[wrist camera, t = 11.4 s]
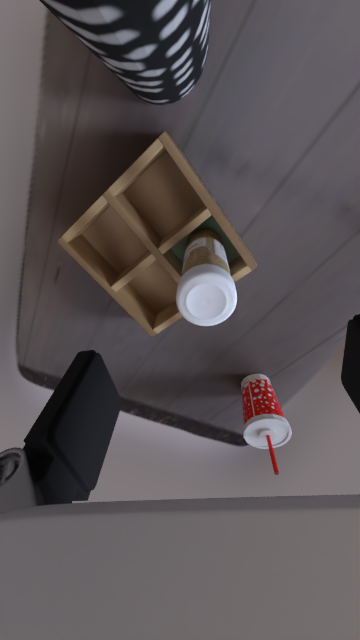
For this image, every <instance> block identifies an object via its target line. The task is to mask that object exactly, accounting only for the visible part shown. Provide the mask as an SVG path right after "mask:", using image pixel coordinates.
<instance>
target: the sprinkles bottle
mask: <svg viewBox="0 0 360 640" xmlns="http://www.w3.org/2000/svg"><path fill="white" fill-rule="evenodd" d="M176 303H177V307H178V310H179V312H180V313H181V315H182V316H183V317H184V318H185V319H187V320H188V321H189V322H191V323H193V324H196V325H200V326H212V325H216V324H219V323H221V322H223V321H224V320H226V319H227V318H228V317H229V316H230V315H231V314H232V312H233V311H234V309H235V307H236V303H237V293H236V288H235V284H234V281H233V279H232V277H231V276H230V270H229V266H228V262H227V258H226V254H225V250H224V244H223V241H222V239H221V238H220V236H219V235H217V234H216V233H215V232H213V231H210V230H200V231H197V232H195V233H194V234H192V235H191V236H190V237H189V239H188V241H187V242H186V246H185V255H184V262H183V268H182V277H181V279H180V281H179V283H178V287H177V293H176Z"/></svg>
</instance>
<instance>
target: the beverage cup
mask: <svg viewBox="0 0 360 640" xmlns="http://www.w3.org/2000/svg"><path fill="white" fill-rule="evenodd" d="M241 393H242V404H243V416H244V426H243V433H244V434H243V436H244V439H245V440H246V442H247V443H248V444H250V445H251V446H253V447H257V448H260V449H269V451H270V456H271V460H272V464H273V469H274V473H275V474H276V475H277V474H279V471H278V468H277V463H276V459H275V456H274V451H273V448H276V447H279V446H281V445H283V444H285V443H286V442H287V441H288V440H289V439H290V438H291V435H292V430H291V428H290V425H289V423H288V421H287V420H286V419H285V418H284V415H283V412H282V410H281V407H280V405H279V402H278V400H277V397H276V395H275V392H274V390H273V387H272V385H271V382H270V380H269V378H267V377H266V376H265V375H262V374H252V375H248V376H247V377H245V378H244V379H243V380H242V382H241Z"/></svg>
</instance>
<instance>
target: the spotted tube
mask: <svg viewBox="0 0 360 640" xmlns="http://www.w3.org/2000/svg"><path fill="white" fill-rule="evenodd" d="M40 1H41V2H42V3H43V4H44V5H45V6H46V7H47V8H48V9H49V10H50V11H51V12H52V13H53V14H54V15H55V16H56V17H57V18H58V19H59V20H60V21H61V22H62V23H63V24H64V25H65V26H66V27H67V28H68V29H69V30H70V31H71V32H72V33H73V34H74V35H75V36H76V37H77V38H78V39H79V40H80V41H81V42H82V43H83V44H84V45H85V46H86V47H87V48H88V49H90V50H91V51H92V52H93V53H94V54H95V55H96V56H97V57H98V58H99V59H100V60H101V61H102V62H103V63H104V64H105V65H106V66H107V67H108V68H109V69H110V70H111V71H112V72H113V73H114V74H115V75H116V76H117V77H118V78H119V79H120V80H121V81H122V82H123V83H124V84H125V85H126V86H127V87H128V88H129V89H130V90H131V91H132V92H133V93H135V94H136V95H137V96H138V97H139V98H141V99H143V100H145V101H146V102H149V103H152V104H159V105H165V104H170V103H173V102H176V101H178V100H180V99H181V98H183V97H184V96H185V95H186V94H188V93H189V92H190V90H191V89H192V88H193V87H194V86H195V84H196V83H197V81H198V79H199V77H200V76H201V73H202V70H203V68H204V65H205V61H206V57H207V52H208V39H209V23H210V6H211V0H40Z"/></svg>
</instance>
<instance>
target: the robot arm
mask: <svg viewBox="0 0 360 640" xmlns="http://www.w3.org/2000/svg"><path fill="white" fill-rule="evenodd" d="M341 381H342V384H343V386H344V388H345V390H346V391H347V393H348V395H349V396H350V398H351V400H352V401H353V403H354V405H355V406H356V408H357V410H358V411H359V413H360V314H359V315H355V316H354V317H353V320H349V322H348V326H347V334H346V342H345V350H344V357H343V365H342V373H341ZM120 408H121V398H120V396H119V394H118V391H117V389H116V387H115V385H114V383H113V381H112V379H111V376H110V374H109V372H108V370H107V368H106V366H105V364H104V361H103V359H102V357H101V355H100V354H99V353H96V352H95V351H94V350H89V351H81V352H79V353H78V354H77V355H76V357H75V358H74V360H73V362H72V363H71V365H70V367H69V368H68V370H67V371H66V373H65V375H64V376H63V378H62V380H61V381H60V383H59V384H58V386H57V388H56V389H55V391H54V392H53V394H52V396H51V397H50V399H49V401H48V402H47V404H46V406H45V407H44V409H43V410H42V412H41V414H40V415H39V417H38V419H37V420H36V422H35V423H34V425H33V426H32V428H31V430H30V431H29V433H28V435H27V436H26V438H25V439H24V442H25V443H26V444H25V446H24V448H23V449H21V448H11V449H7V450H5V451H3V452H1V453H0V640H360V495H321V496H277V497H241V498H207V499H176V500H144V501H115V502H90V503H72V501H85V500H88V498H89V495H90V491H91V490H93V489H94V488H95V486H96V484H97V480H98V477H99V474H100V471H101V468H102V465H103V461H104V458H105V455H106V452H107V449H108V446H109V443H110V440H111V436H112V433H113V430H114V427H115V424H116V421H117V418H118V415H119V411H120Z"/></svg>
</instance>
